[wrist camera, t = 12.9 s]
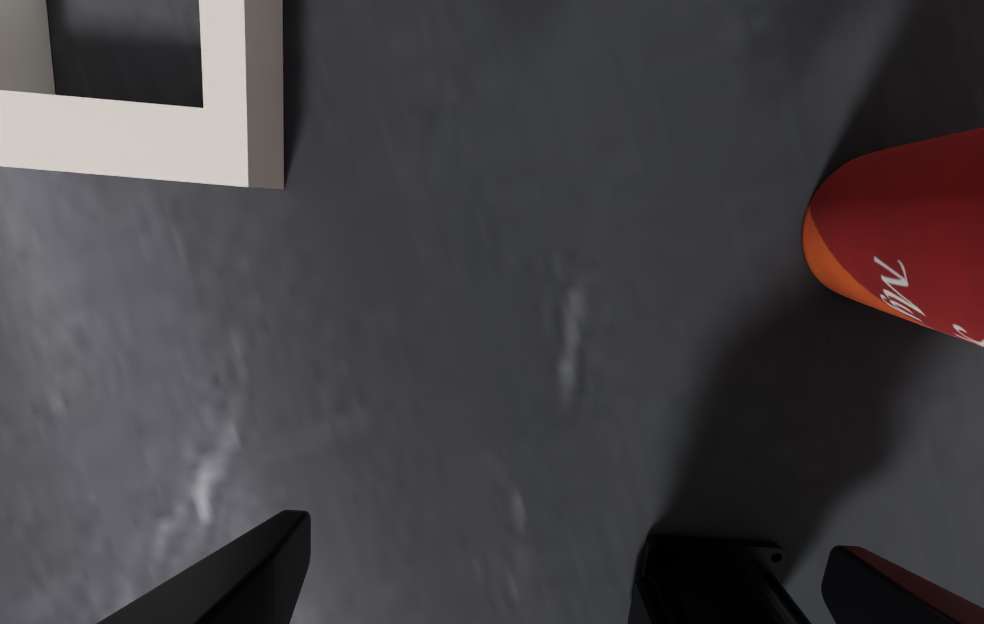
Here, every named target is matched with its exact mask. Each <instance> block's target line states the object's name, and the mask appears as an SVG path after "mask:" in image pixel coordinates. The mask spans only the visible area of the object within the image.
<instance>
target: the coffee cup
mask: <svg viewBox="0 0 984 624" xmlns="http://www.w3.org/2000/svg"><path fill="white" fill-rule="evenodd" d="M801 243H802V250H803V254H804V258H805V260H806V263H807V265H808V267H809V269H810V270H811V272H812V273H813V275H814V276H815V277H816V278H817V279H818V280H819V281H820V282H821V283H822V284H823V285H825V286H826V287H827V288H829V289H831V290H832V291H834V292H836V293H838V294H840V295H843V296H845V297H847V298H850V299H852V300H855V301H857V302H860V303H862V304H865V305H868V306H870V307H873V308H875V309H878V310H881V311H884V312H887V313H889V314H892V315H895V316H898V317H900V318H903V319H906V320H909V321H911V322H914V323H917V324H920V325H923V326H925V327H928V328H931V329H934V330H937V331H939V332H942V333H945V334H948V335H951V336H954V337H956V338H959V339H962V340H965V341H968V342H970V343H973V344H976V345H979V346H982V347H984V127H983V128H978V129H973V130H969V131H964V132H959V133H955V134H950V135H945V136H941V137H936V138H932V139H927V140H922V141H918V142H913V143H909V144H905V145H900V146H896V147H892V148H888V149H884V150H880V151H876V152H873V153H869V154H866V155H863V156H860V157H858V158H855V159H853V160H851V161H849V162H847V163H845V164H844V165H842V166H841V167H839V168H838V169H836V170H835V171H834V172H833V173H831V174H830V175H829V176H828V177H827V178H826V179H825V180H824V181H823V182H822V184H821V185H820V186H819V187H818V189H817V190H816V192H815V193H814V195H813V196H812V198H811V200H810V202H809V204H808V207H807V209H806V212H805V215H804V219H803V223H802V230H801Z"/></svg>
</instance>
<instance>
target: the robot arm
mask: <svg viewBox="0 0 984 624" xmlns="http://www.w3.org/2000/svg"><path fill="white" fill-rule="evenodd" d="M658 545H661V547H660V548H659V549H654V548H655V547H656V546H658ZM774 553H776V555H774V556H772V555H773V554H774ZM310 554H311V518H310V514H309V513H308V512H307V511H299V510H283V511H281V512H280V513H278V514H276V515H275V516H273V517H271V518H270V519H268V520H266V521H265V522H263V523H262V524H260V525H258V526H257V527H255V528H253V529H252V530H250V531H248V532H247V533H245V534H243V535H242V536H240V537H238V538H237V539H235V540H234V541H232V542H230V543H229V544H227V545H225V546H224V547H222V548H220V549H219V550H217V551H215V552H214V553H212V554H210V555H209V556H207V557H206V558H204V559H202V560H201V561H199V562H197V563H196V564H194V565H192V566H191V567H189V568H187V569H186V570H184V571H183V572H181V573H179V574H178V575H176V576H174V577H173V578H171V579H169V580H168V581H166V582H164V583H163V584H161V585H159V586H158V587H156V588H155V589H153V590H151V591H150V592H148V593H146V594H145V595H143V596H141V597H140V598H138V599H136V600H135V601H133V602H131V603H130V604H128V605H127V606H125V607H123V608H122V609H120V610H118V611H117V612H115V613H113V614H112V615H110V616H108V617H107V618H105V619H103V620H102V621H100V622H99V623H97V624H289V623H290V620H291V617H292V614H293V611H294V608H295V605H296V603H297V600H298V597H299V594H300V591H301V588H302V585H303V582H304V579H305V576H306V573H307V570H308V567H309V562H310ZM786 560H787V554H786V552H785V550H784V549H783V548H782V547H781V546H780V545H779V544H778V543H774V542H758V541H743V540H728V539H713V538H698V537H683V536H668V535H653V536H651V537H650V538H649V539H648V540H647V542H646V546H645V551H644V557H643V563H642V569H641V575H640V577H639V578H638V579H637V580H636V581H635V583H634V589H633V595H632V601H631V607H630V612H629V618H628V624H811V622H810V621H809V620H808V618H807V617H806V616H805V615H804V613H803V612H802V611H801V609H800V608H799V607H798V606H797V604H796V603H795V602H794V600H793V599H792V598H791V596H790V595H789V594H788V593H787V591H786V590H785V589H784V587H783V586H782V585H781V581H782V577H783V573H784V568H785V564H786ZM821 591H822V596H823V599H824V602H825V604H826V606H827V608H828V609H829V611H830V613H831V615H832V617H833V619H834V621H835V622H836V624H984V608H982V607H980V606H978V605H976V604H974V603H972V602H970V601H968V600H966V599H964V598H962V597H960V596H958V595H956V594H954V593H952V592H950V591H948V590H946V589H944V588H942V587H940V586H938V585H936V584H934V583H932V582H930V581H928V580H926V579H924V578H922V577H920V576H918V575H916V574H914V573H912V572H910V571H908V570H906V569H904V568H902V567H900V566H898V565H896V564H894V563H892V562H890V561H888V560H886V559H884V558H882V557H880V556H878V555H876V554H874V553H872V552H870V551H868V550H866V549H864V548H861V547H857V546H841V545H838V546H835V547H833V549H832V550H831V551H830V554H829V558H828V562H827V565H826V569H825V573H824V577H823V581H822V585H821Z"/></svg>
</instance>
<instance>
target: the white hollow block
mask: <svg viewBox="0 0 984 624" xmlns="http://www.w3.org/2000/svg"><path fill="white" fill-rule="evenodd" d="M199 9H200V34H201V58H202V83H203V108H197V107H186V106H175V105H163V104H152V103H141V102H130V101H118V100H107V99H96V98H85V97H74V96H62V95H55V86H54V76H53V67H52V57H51V47H50V37H49V27H48V17H47V7H46V0H0V166H5V167H17V168H28V169H40V170H52V171H64V172H76V173H87V174H99V175H111V176H123V177H135V178H146V179H158V180H170V181H182V182H194V183H205V184H217V185H229V186H241V187H254V188H269V189H284V129H283V0H199Z"/></svg>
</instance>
